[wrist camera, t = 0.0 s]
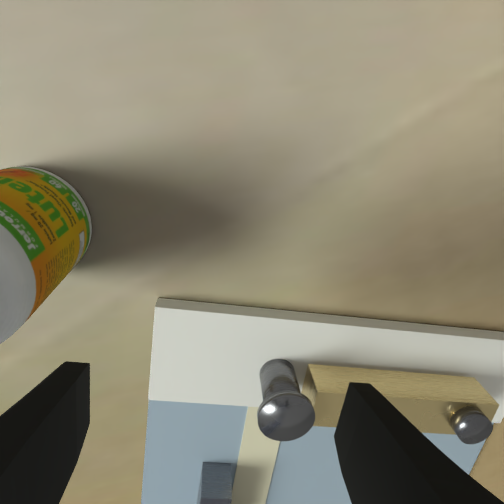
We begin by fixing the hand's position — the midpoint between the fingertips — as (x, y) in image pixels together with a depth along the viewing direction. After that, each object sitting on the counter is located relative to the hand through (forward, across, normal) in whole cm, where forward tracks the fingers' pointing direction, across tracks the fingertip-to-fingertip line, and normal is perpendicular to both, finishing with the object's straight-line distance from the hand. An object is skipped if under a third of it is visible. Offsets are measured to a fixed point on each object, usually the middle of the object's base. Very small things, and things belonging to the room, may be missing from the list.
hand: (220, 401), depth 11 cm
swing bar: (+9, -10, +6) cm, 15 cm away
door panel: (+10, -8, +12) cm, 18 cm away
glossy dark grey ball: (+10, -4, +6) cm, 12 cm away
